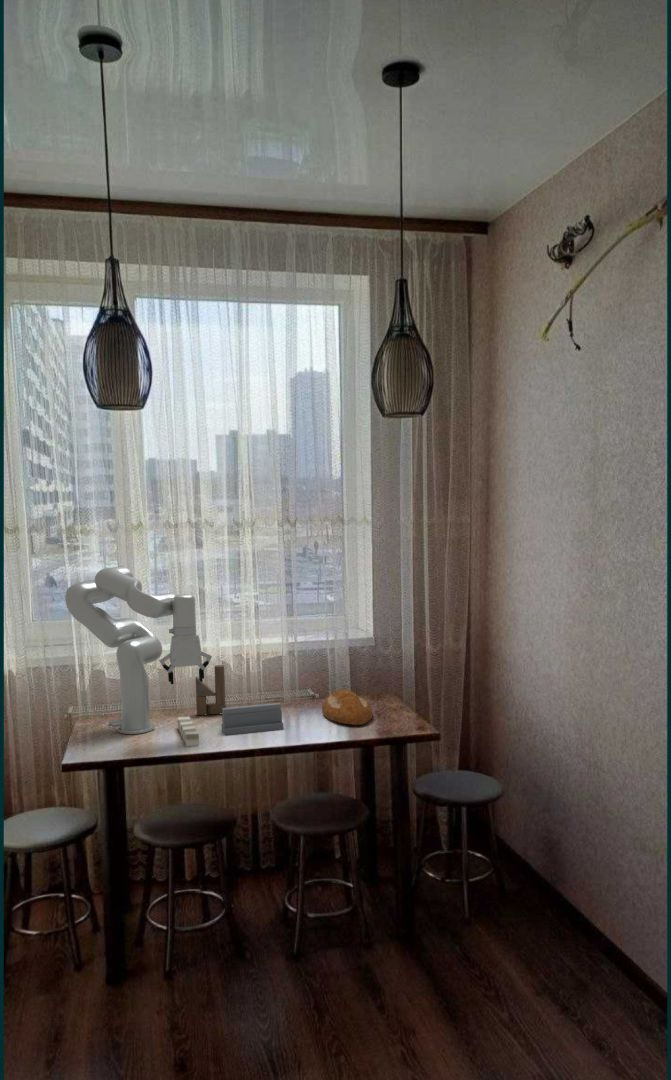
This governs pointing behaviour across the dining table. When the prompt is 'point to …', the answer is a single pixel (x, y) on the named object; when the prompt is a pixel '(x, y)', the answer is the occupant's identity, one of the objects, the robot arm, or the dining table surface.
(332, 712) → the bread
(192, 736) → the birch bar
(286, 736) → the dining table surface
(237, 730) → the ridge block
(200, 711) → the wooden block
